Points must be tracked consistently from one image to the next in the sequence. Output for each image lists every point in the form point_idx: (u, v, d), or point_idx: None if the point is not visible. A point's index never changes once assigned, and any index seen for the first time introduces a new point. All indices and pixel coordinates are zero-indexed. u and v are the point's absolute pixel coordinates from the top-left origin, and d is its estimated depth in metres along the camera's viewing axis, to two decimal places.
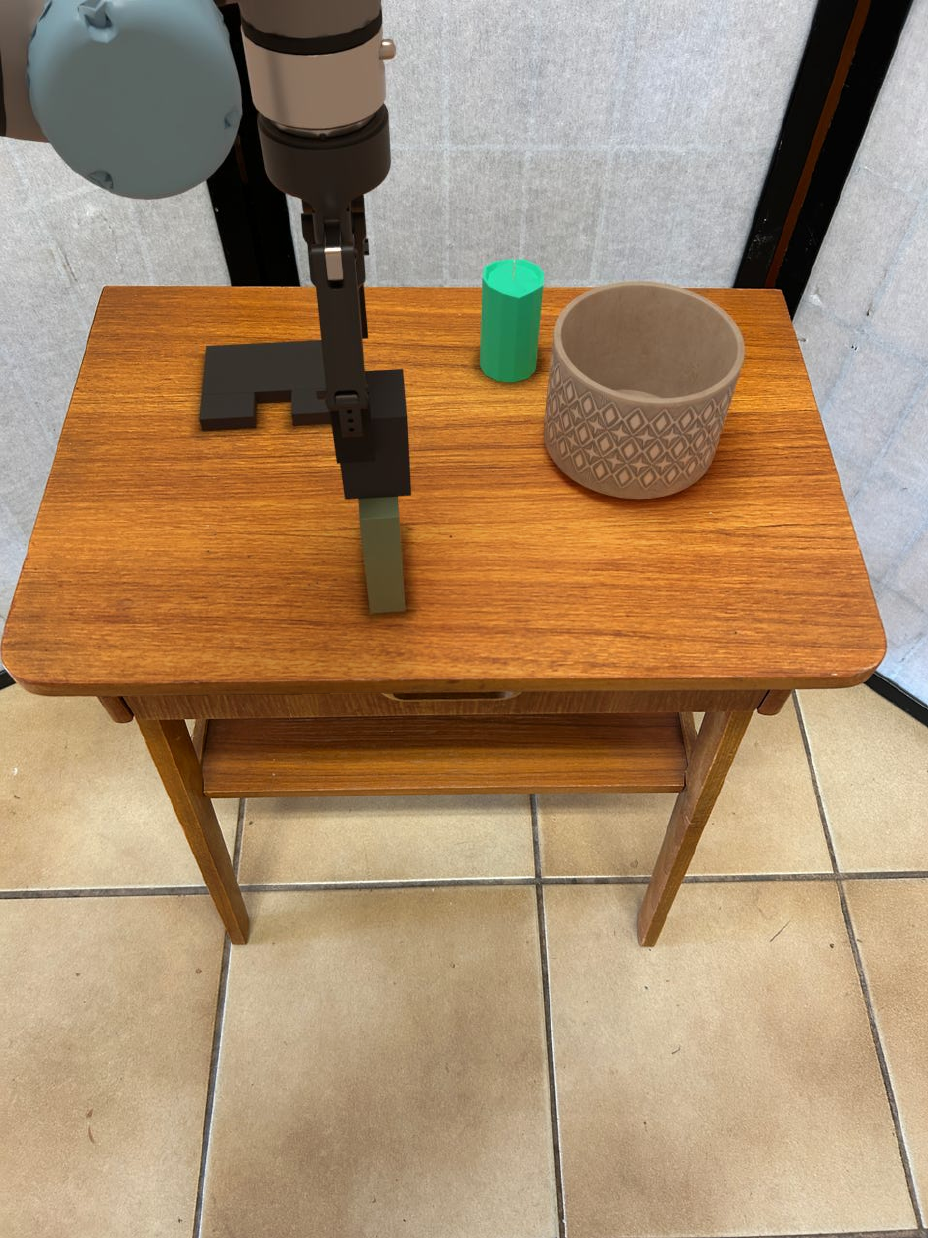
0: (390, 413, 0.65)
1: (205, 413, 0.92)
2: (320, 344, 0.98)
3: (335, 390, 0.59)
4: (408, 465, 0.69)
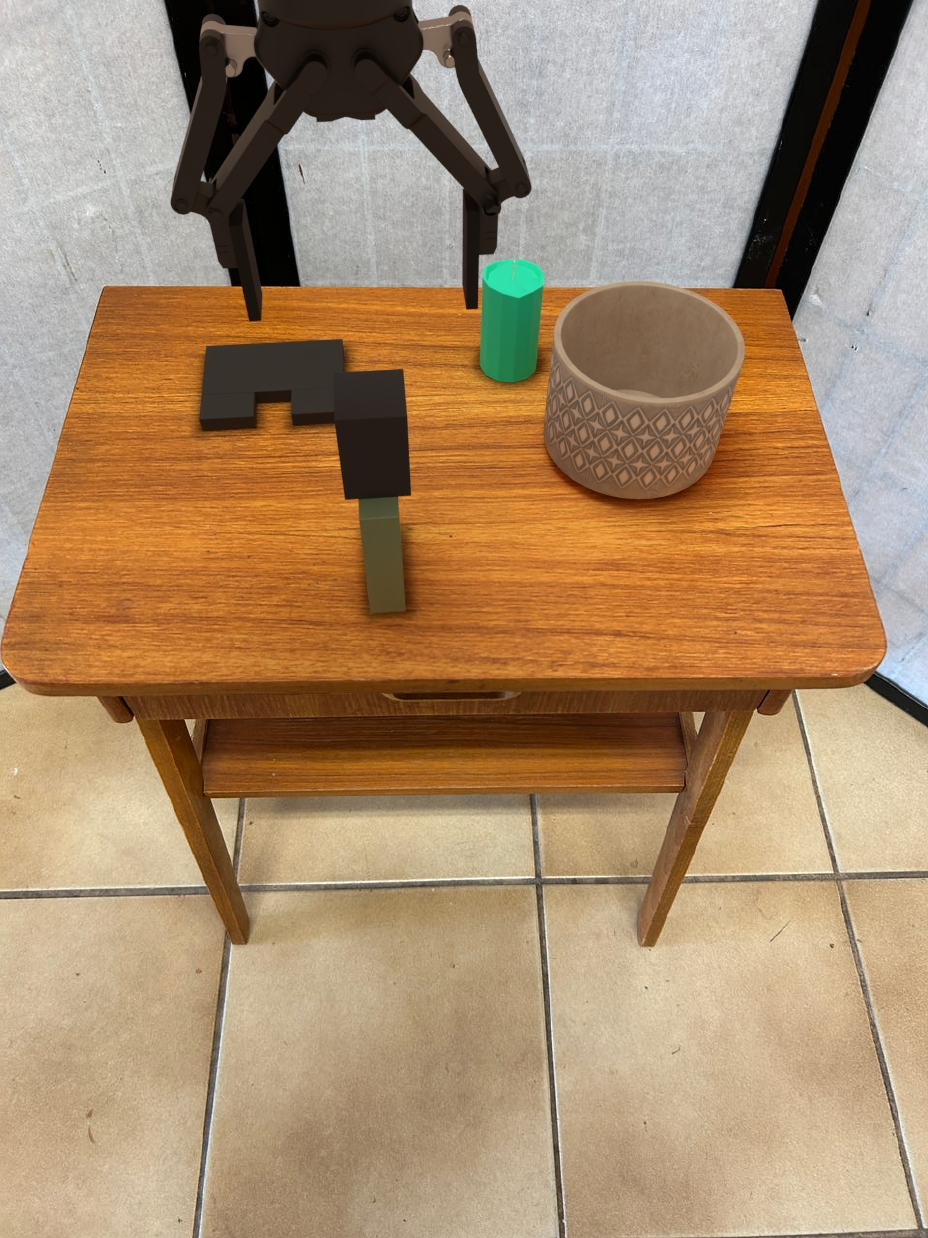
0: (390, 413, 0.65)
1: (205, 413, 0.92)
2: (320, 344, 0.98)
3: (524, 166, 0.54)
4: (408, 465, 0.69)
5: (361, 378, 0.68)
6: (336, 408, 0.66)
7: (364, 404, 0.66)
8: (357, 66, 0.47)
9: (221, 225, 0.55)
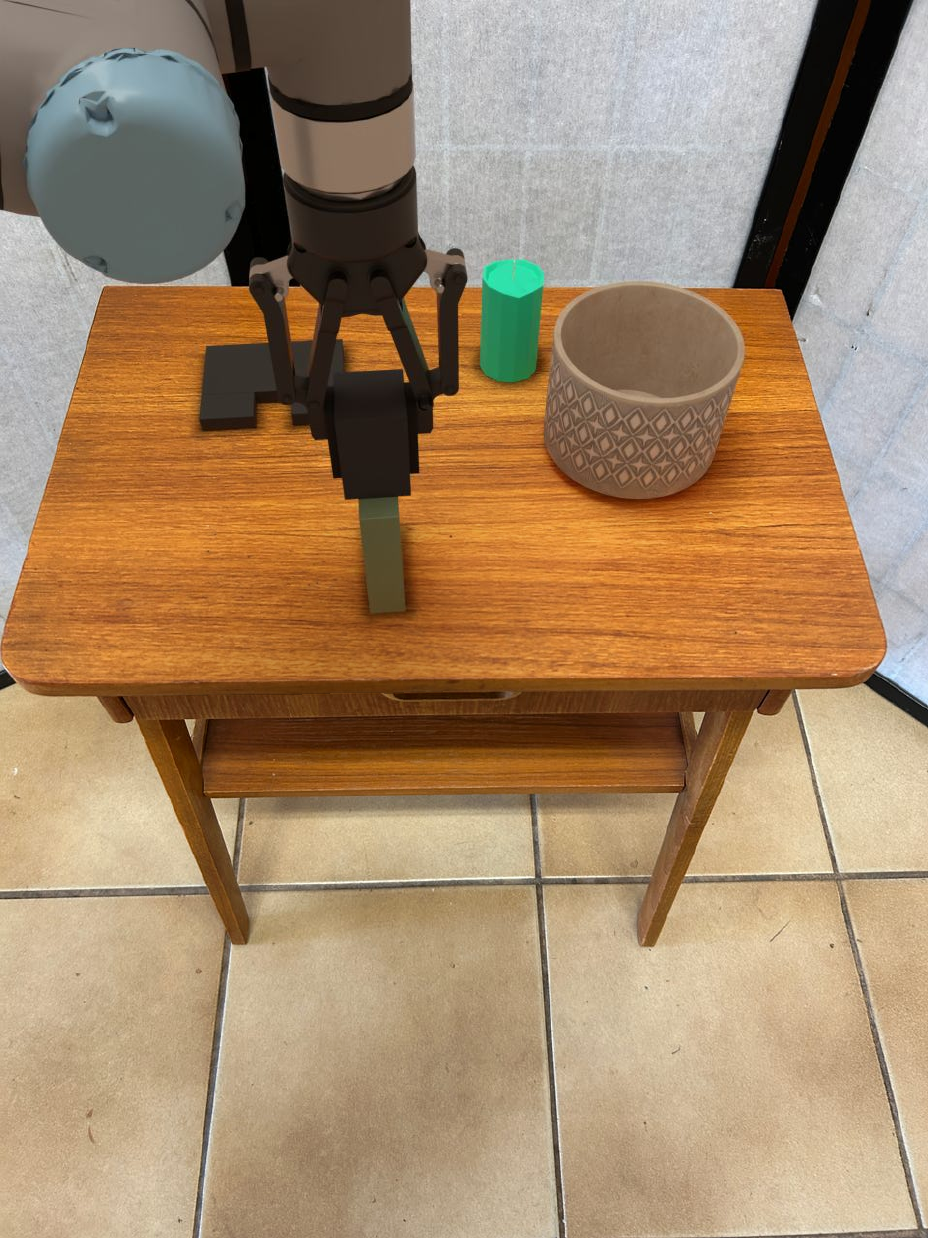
0: (390, 413, 0.65)
1: (205, 413, 0.92)
2: None
3: None
4: (408, 465, 0.69)
5: (361, 378, 0.68)
6: (336, 408, 0.66)
7: (364, 404, 0.66)
8: (375, 279, 0.57)
9: (316, 410, 0.66)
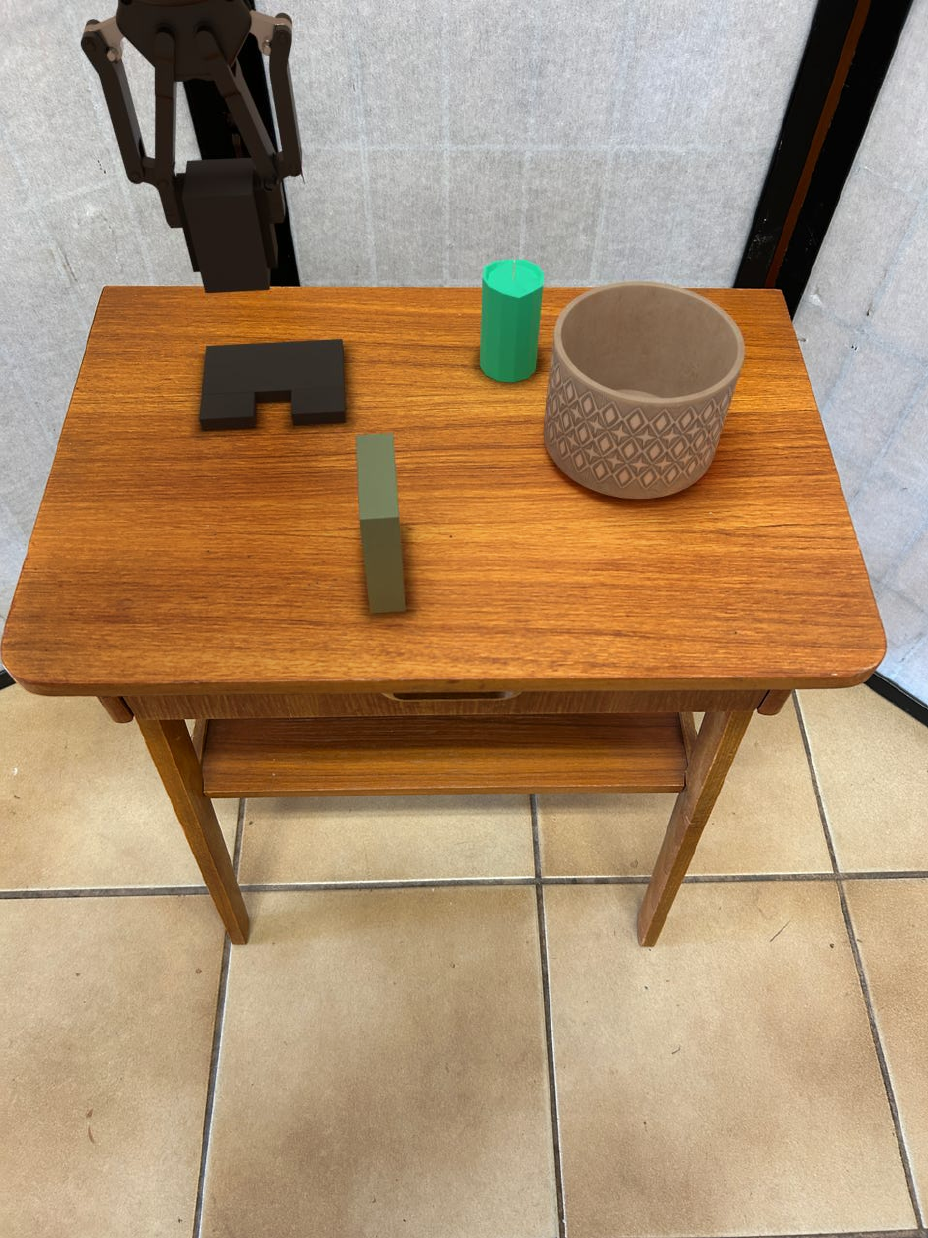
0: (236, 191, 0.68)
1: (205, 413, 0.92)
2: (320, 344, 0.98)
3: (300, 153, 0.68)
4: (261, 253, 0.72)
5: (212, 165, 0.70)
6: (184, 188, 0.69)
7: (212, 185, 0.69)
8: (199, 33, 0.60)
9: (168, 193, 0.69)
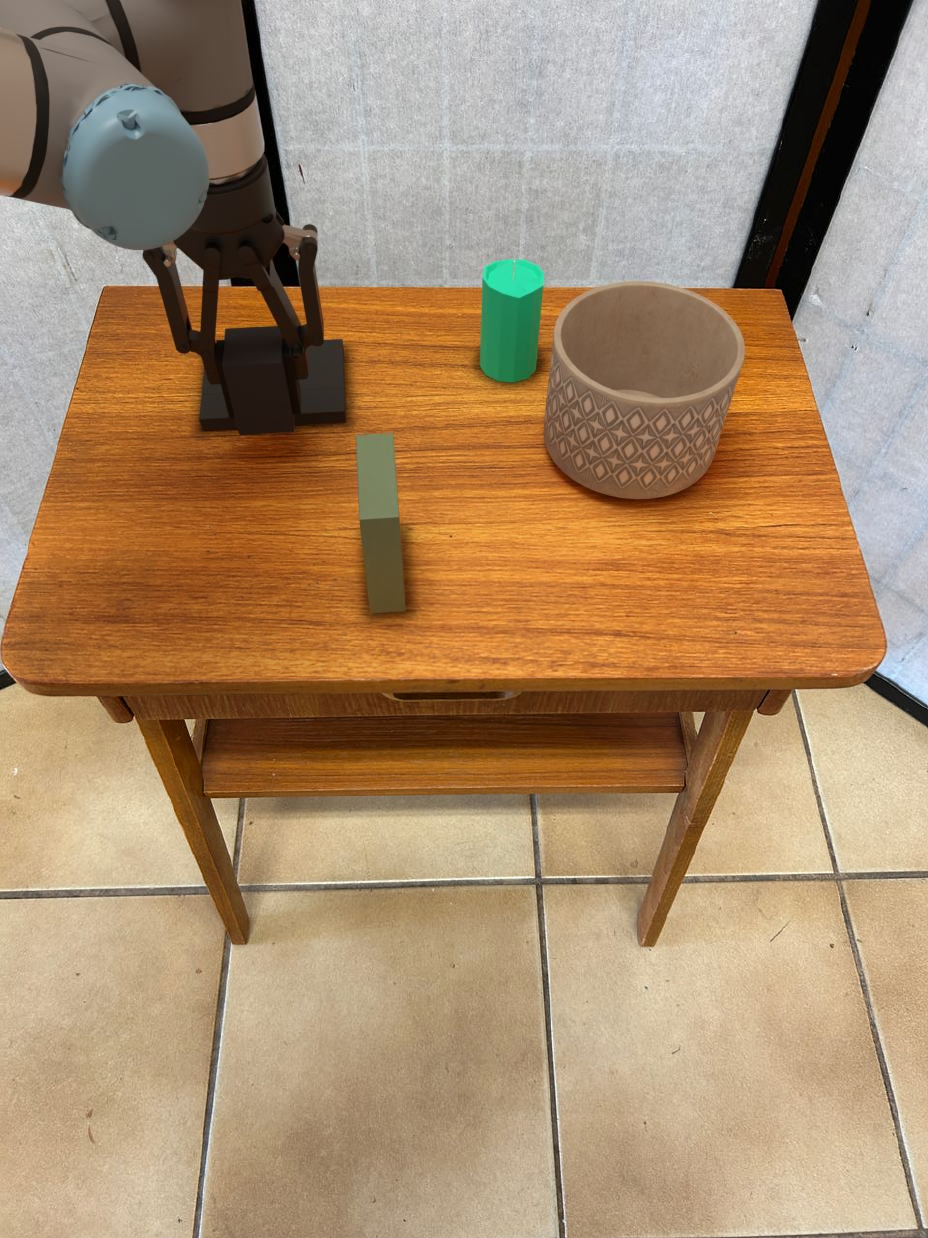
0: (268, 360, 0.80)
1: (205, 413, 0.92)
2: None
3: (322, 328, 0.80)
4: (288, 405, 0.84)
5: (247, 333, 0.83)
6: (224, 356, 0.81)
7: (248, 353, 0.81)
8: (241, 248, 0.72)
9: (209, 359, 0.81)
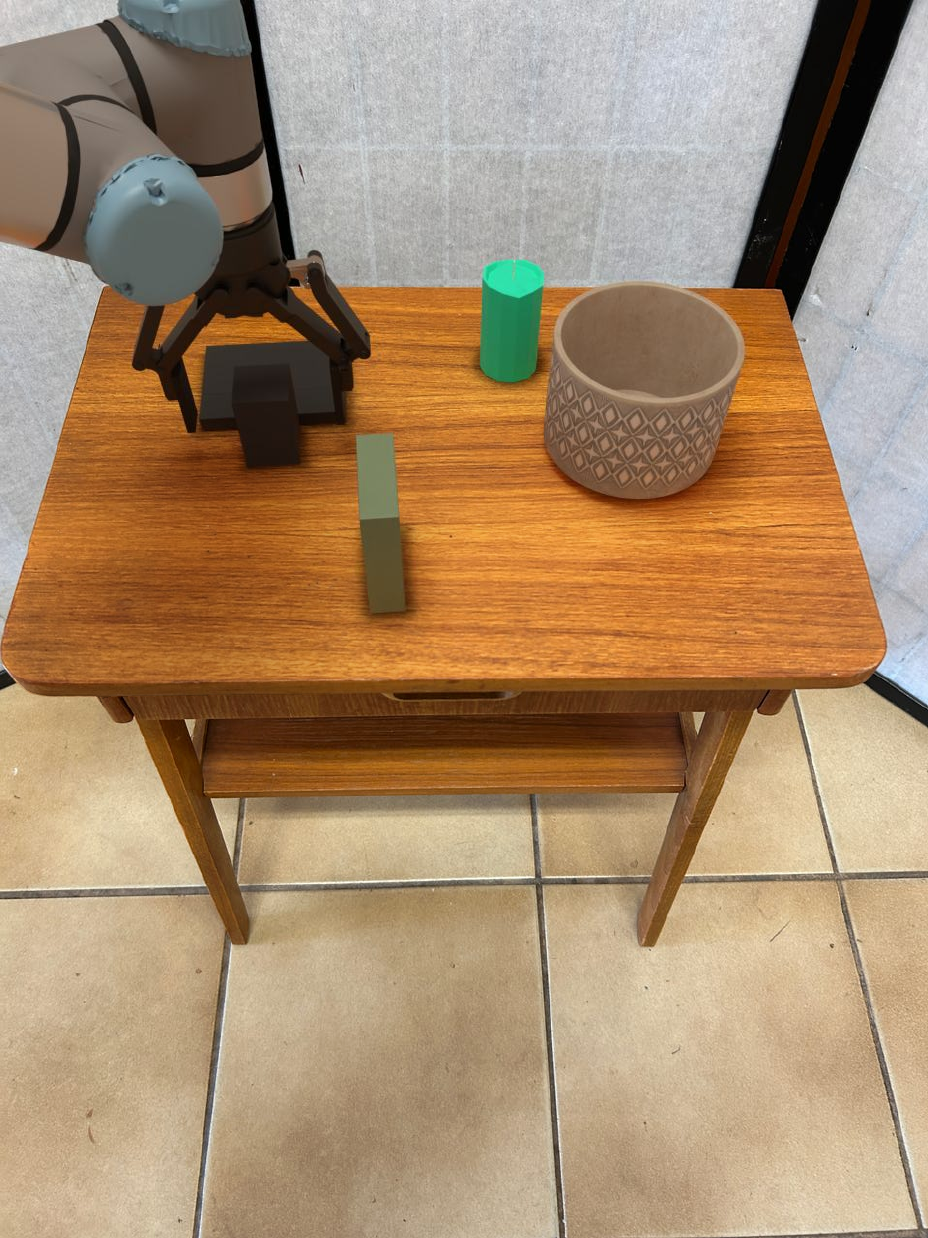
0: (275, 397, 0.84)
1: (205, 413, 0.92)
2: None
3: (365, 340, 0.81)
4: (294, 439, 0.88)
5: (255, 370, 0.86)
6: (233, 393, 0.84)
7: (256, 390, 0.84)
8: (247, 291, 0.75)
9: (166, 375, 0.82)
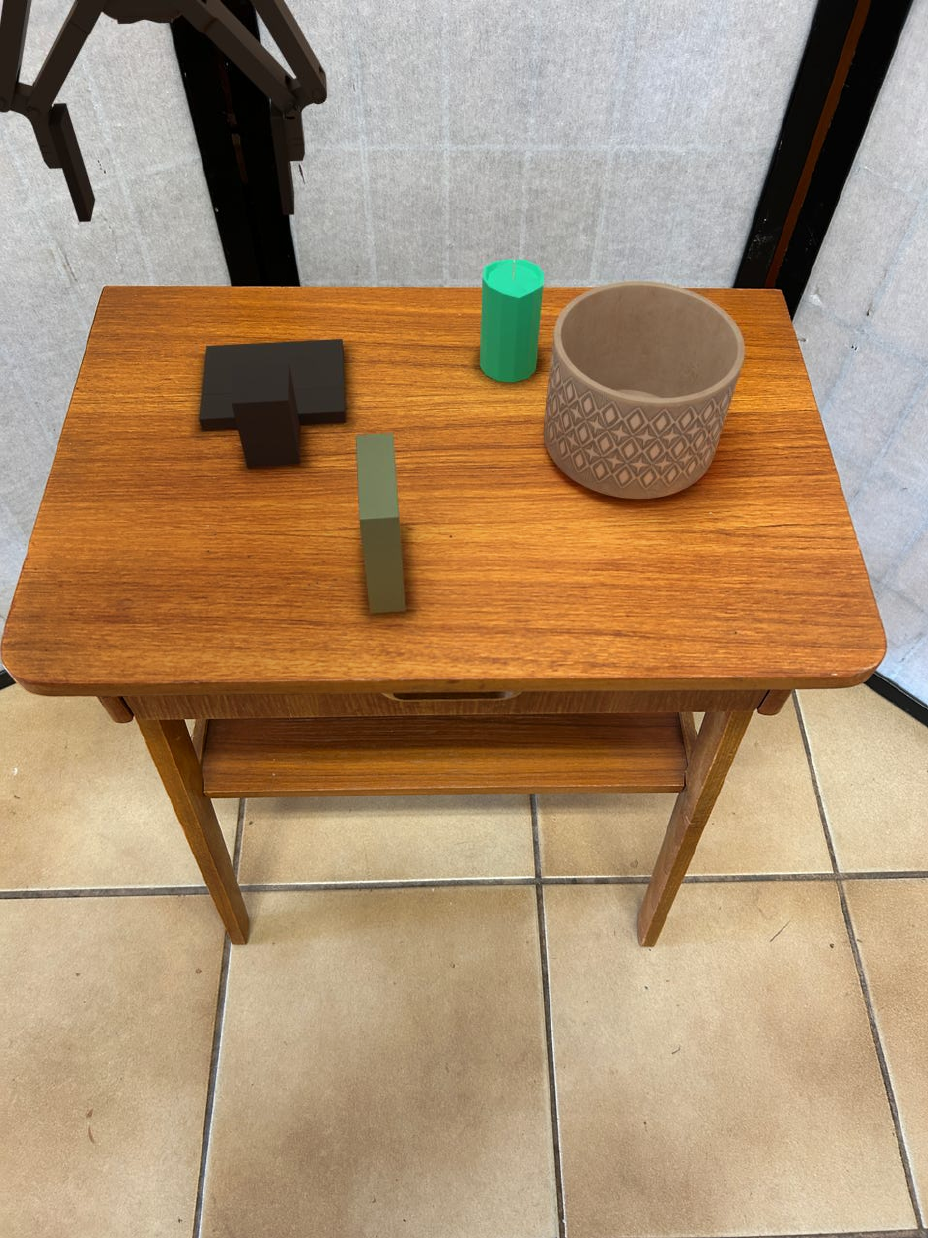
0: (275, 397, 0.84)
1: (205, 413, 0.92)
2: (320, 344, 0.98)
3: (319, 73, 0.59)
4: (294, 439, 0.88)
5: (255, 370, 0.86)
6: (233, 393, 0.84)
7: (256, 390, 0.84)
8: None
9: (42, 125, 0.59)
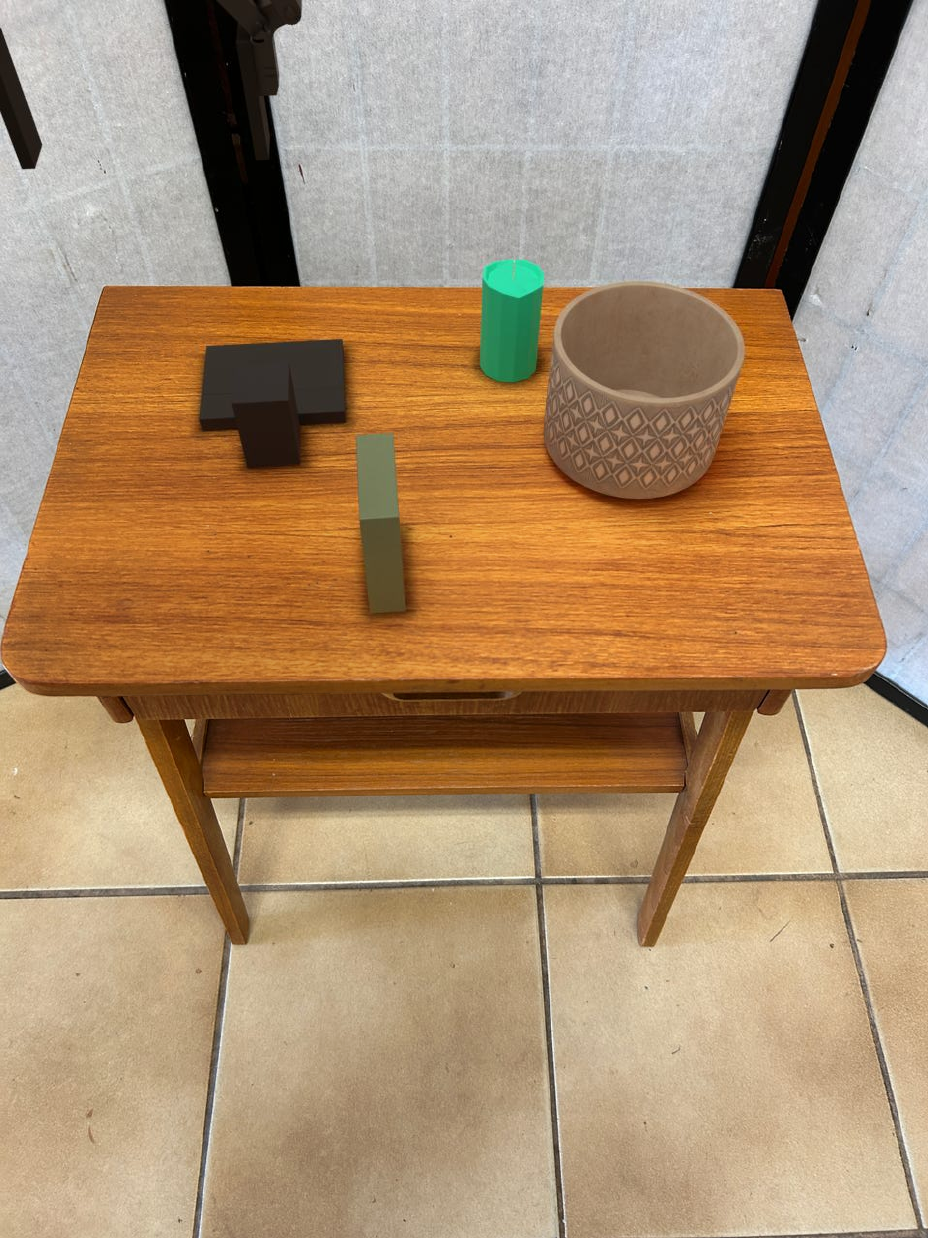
0: (275, 397, 0.84)
1: (205, 413, 0.92)
2: (320, 344, 0.98)
3: None
4: (294, 439, 0.88)
5: (255, 370, 0.86)
6: (233, 393, 0.84)
7: (256, 390, 0.84)
8: None
9: None
